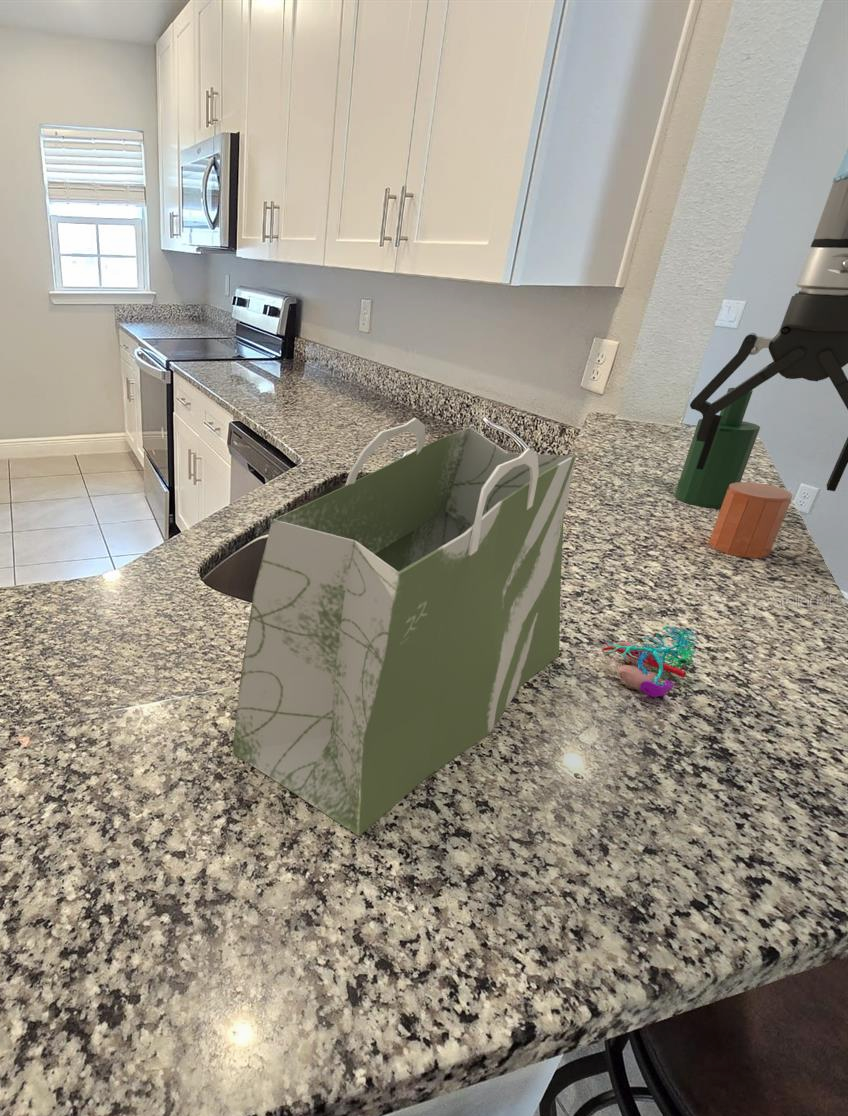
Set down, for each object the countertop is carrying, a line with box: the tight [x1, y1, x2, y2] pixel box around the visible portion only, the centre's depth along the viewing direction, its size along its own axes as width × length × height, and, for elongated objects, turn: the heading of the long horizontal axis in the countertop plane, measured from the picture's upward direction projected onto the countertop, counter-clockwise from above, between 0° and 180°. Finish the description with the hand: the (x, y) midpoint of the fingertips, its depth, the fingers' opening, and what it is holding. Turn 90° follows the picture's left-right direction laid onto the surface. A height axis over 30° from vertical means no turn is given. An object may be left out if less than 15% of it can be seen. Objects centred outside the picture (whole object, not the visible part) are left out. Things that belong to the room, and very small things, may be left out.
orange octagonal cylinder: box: [707, 481, 793, 559], centre depth 86 cm, size 7×7×8 cm
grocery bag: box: [232, 417, 577, 837], centre depth 52 cm, size 32×14×23 cm, turn 136°
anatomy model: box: [602, 625, 699, 698], centre depth 60 cm, size 5×8×7 cm
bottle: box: [674, 387, 761, 509], centre depth 102 cm, size 8×8×17 cm
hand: (762, 477), depth 84 cm, fingers open, 13 cm apart
